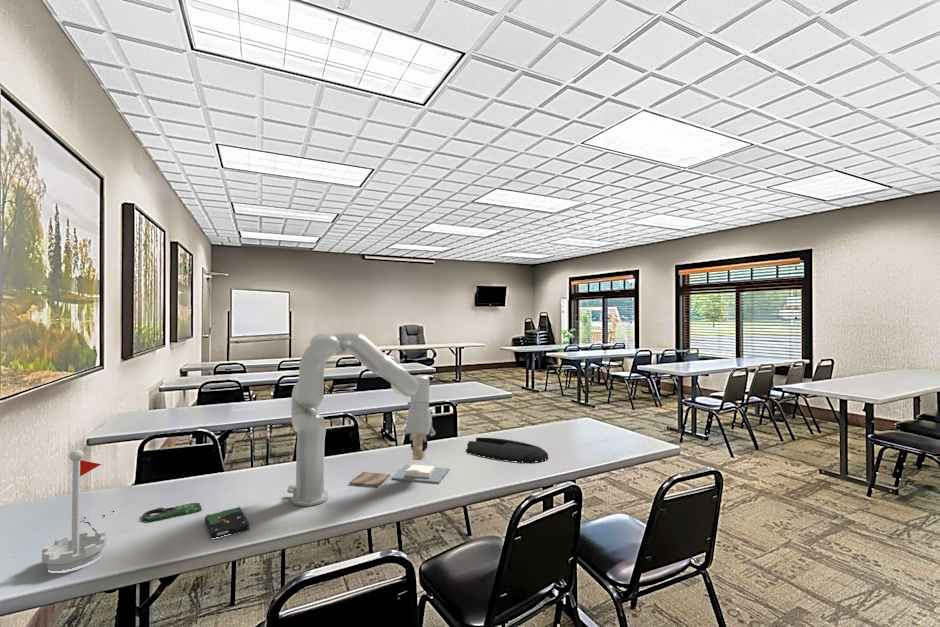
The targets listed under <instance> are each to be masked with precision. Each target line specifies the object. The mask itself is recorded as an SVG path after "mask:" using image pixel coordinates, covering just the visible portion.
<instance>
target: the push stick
mask: <svg viewBox="0 0 940 627" xmlns="http://www.w3.org/2000/svg"><path fill="white" fill-rule="evenodd" d="M423 440H424V439H423V434H413V450H412V460H413V461H423V460H424V459H426V450H425V451H422V449H423Z"/></svg>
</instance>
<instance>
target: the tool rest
mask: <svg viewBox="0 0 940 627" xmlns="http://www.w3.org/2000/svg"><path fill="white" fill-rule="evenodd" d="M389 476H390V477H391V475H390V473H379V472H369V471H368V472H367V471H362V472H361V473H360V474H358V475H356V477H354V478H352V480H350V481H349V482H348V484H354V485H353V486H357V485H364V486H363V487H368V486H373V487H372V488H379V487H380V486H381V485H382V484H383V483H384V482H385V480H386V479H387V478H388V477H389ZM390 477H389V478H390ZM389 478H388V479H389ZM388 479H387V480H388ZM387 480H386V481H387ZM381 483H382V484H381ZM380 484H381V485H380ZM379 485H380V486H379ZM378 486H379V487H378Z"/></svg>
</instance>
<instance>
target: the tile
mask: <svg viewBox="0 0 940 627" xmlns="http://www.w3.org/2000/svg"><path fill="white" fill-rule="evenodd" d="M411 465H412V466H411V467H409V468H408V469H407V470H406V476H413V477H425V478H429V477H430V476H431V475H432V474H433V473H434V472H435V467H436V466H435V465H434V466H433V465H423V464H422V465H421V464H420V465H419V464H411Z"/></svg>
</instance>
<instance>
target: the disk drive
mask: <svg viewBox="0 0 940 627" xmlns="http://www.w3.org/2000/svg"><path fill="white" fill-rule="evenodd" d="M204 523H205V526H206V525H207V526H206V528H208V529H207V531H208V534H209V533H210V534H209V537H210V536H211V537H210V539H211V538H216V537H221V536H224V535H228V534H233V535H235V534H234V533H237V534H239V533H238V532H241V533H243V531H244V532H247V530H248V531H250V523H249V520H248V519H247V518H246V516H245V514H244V513H243V510H242V508H241V507H240V506H239V507H235V508H231V509H225V510H222V511H220V512H215V513H212V514H211V513H210V514H206V516H205V517H204ZM221 538H222V537H221Z"/></svg>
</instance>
